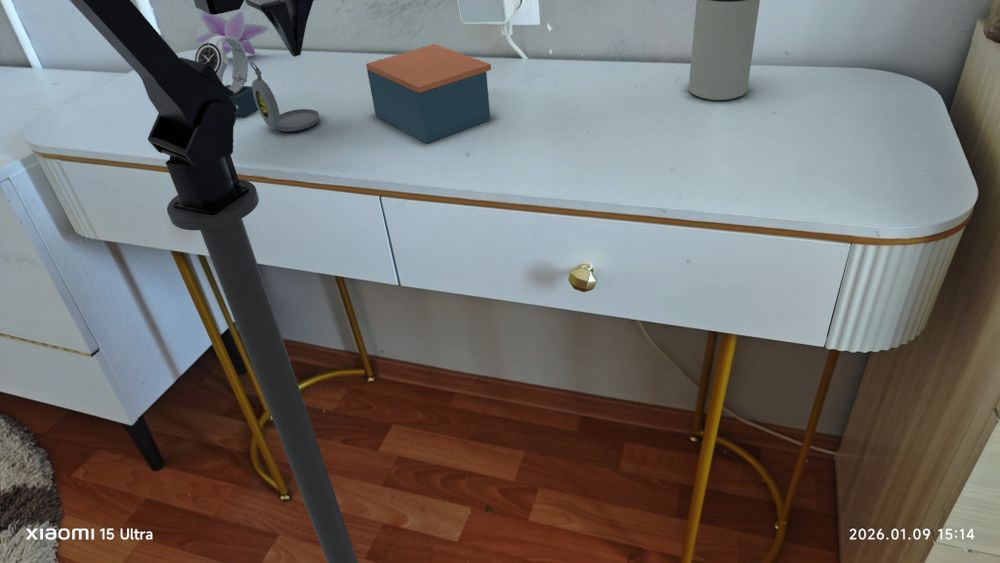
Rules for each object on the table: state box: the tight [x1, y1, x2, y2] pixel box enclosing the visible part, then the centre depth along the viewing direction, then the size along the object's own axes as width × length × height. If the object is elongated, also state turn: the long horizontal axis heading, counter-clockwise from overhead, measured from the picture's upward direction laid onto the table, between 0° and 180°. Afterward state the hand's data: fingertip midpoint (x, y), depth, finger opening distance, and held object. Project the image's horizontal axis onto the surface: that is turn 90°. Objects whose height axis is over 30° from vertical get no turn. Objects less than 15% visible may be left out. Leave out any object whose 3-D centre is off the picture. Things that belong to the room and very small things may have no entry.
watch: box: [194, 36, 259, 118], centre depth 102 cm, size 6×8×11 cm
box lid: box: [365, 43, 492, 93], centre depth 93 cm, size 11×14×1 cm
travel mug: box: [688, 0, 761, 101], centre depth 92 cm, size 8×8×18 cm
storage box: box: [366, 69, 491, 144], centre depth 95 cm, size 11×14×7 cm
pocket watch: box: [249, 61, 320, 132], centre depth 96 cm, size 8×8×10 cm
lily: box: [192, 10, 271, 58], centre depth 123 cm, size 12×12×10 cm
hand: (296, 55), depth 86 cm, fingers closed
